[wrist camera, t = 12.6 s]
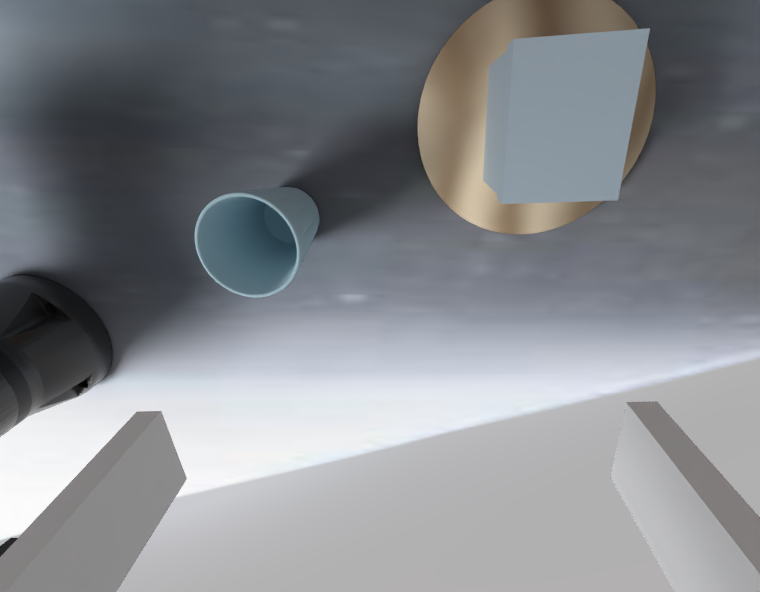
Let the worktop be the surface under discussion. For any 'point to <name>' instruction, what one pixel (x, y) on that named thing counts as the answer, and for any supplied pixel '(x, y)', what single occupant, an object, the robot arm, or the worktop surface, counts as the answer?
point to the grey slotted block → (562, 116)
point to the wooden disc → (469, 102)
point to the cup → (256, 238)
